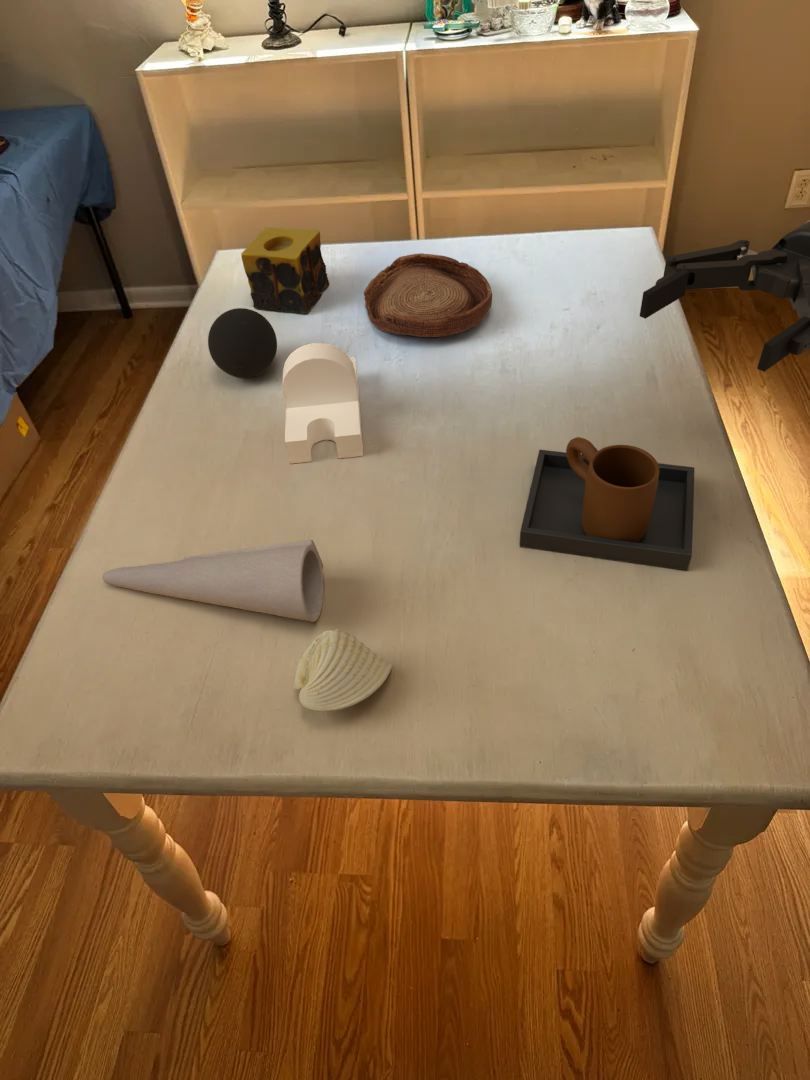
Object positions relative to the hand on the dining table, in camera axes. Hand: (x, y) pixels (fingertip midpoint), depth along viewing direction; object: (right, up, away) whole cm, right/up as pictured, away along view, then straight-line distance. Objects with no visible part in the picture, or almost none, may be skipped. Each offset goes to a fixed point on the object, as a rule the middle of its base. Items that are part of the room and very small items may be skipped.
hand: (701, 330), depth 76 cm
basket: (-25, +17, +52) cm, 60 cm away
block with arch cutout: (-40, -3, +34) cm, 53 cm away
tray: (-5, -17, +17) cm, 25 cm away
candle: (-48, +21, +58) cm, 78 cm away
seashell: (-35, -36, +3) cm, 50 cm away
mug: (-6, -18, +17) cm, 25 cm away
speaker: (-52, +5, +44) cm, 68 cm away
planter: (-51, -28, +12) cm, 59 cm away
